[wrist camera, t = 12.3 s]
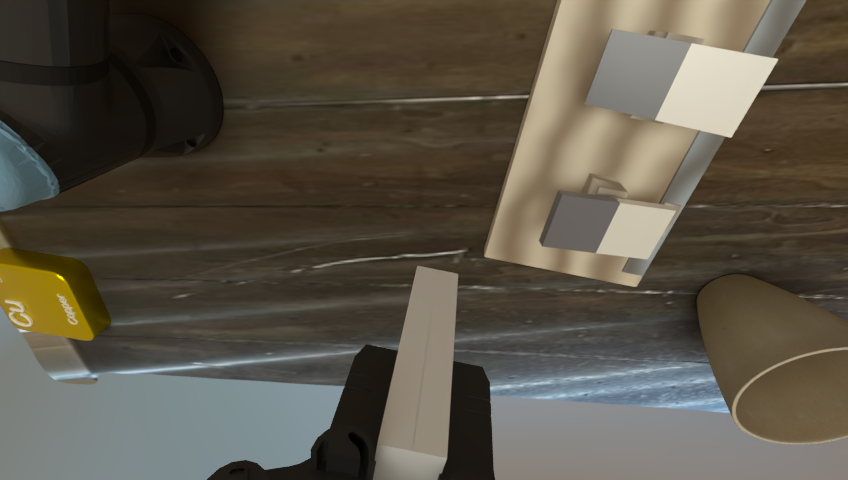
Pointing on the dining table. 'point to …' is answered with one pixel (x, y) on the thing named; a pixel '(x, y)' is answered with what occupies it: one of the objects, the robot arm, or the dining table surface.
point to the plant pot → (776, 360)
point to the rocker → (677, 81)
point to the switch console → (614, 125)
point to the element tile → (50, 295)
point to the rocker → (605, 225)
